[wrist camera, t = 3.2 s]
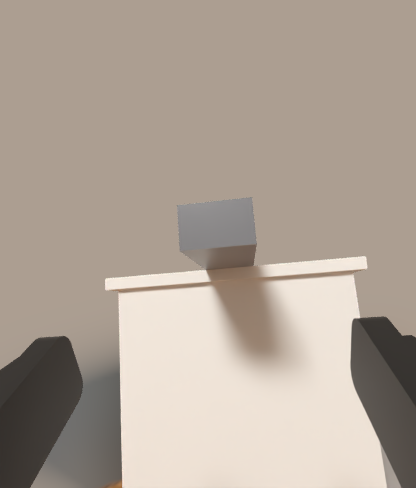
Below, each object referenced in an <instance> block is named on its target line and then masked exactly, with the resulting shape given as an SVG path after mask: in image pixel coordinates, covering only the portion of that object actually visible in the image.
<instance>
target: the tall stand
mask: <svg viewBox="0 0 416 488" xmlns="http://www.w3.org/2000/svg"><path fill="white" fill-rule="evenodd" d="M365 269H367V262H366V257H354V258H341V259H329V260H318V261H306V262H295V263H283V264H271V265H260V266H248V267H236V268H224V269H213V270H201V271H189V272H178V273H166V274H154V275H142V276H131V277H119V278H108V279H105V290H112V291H119V331H120V332H119V335H120V384H121V385H120V389H121V441H122V488H387V484H386V478H385V472H384V465H383V459H382V453H381V446H380V441H379V439H378V437H377V435H376V433H375V430H374V428H373V426H372V424H371V422H370V420H369V418H368V416H367V414H366V411H365V409H364V407H363V405H362V403H361V401H360V399H359V397H358V395H357V392H356V390H355V387H354V384H353V381H352V376H351V369H350V360H351V328H352V321H353V319H354V318H360V315H359V308H358V301H357V295H356V289H355V282H354V276H353V273H354V272H357V271H361V270H365Z"/></svg>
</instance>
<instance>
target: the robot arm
mask: <svg viewBox="0 0 416 488" xmlns="http://www.w3.org/2000/svg"><path fill="white" fill-rule="evenodd" d="M350 369H351V376H352V381H353V384H354V387H355V390H356V392H357V395H358V397H359V399H360V401H361V403H362V405H363V407H364V409H365V411H366V414H367V416H368V418H369V420H370V422H371V424H372V426H373V428H374V430H375V433H376V435H377V437H378V439H379V441H380V443H381V445H382V447H383V450H384V452H385V454H386V456H387V458H388V460H389V462H390V464H391V466H392V469H393V471H394V473H395V475H396V477H397V479H398V481H399V483H400V485H401V488H416V338H415V337H414V336H412V335H406V336H402V335H401V334H400V333H399V332H398V330H397V329H396V328H395V327H394V325H393V324H392V323H391V322H390V321H389V320H388V318H386V317H369V318H354V319H353V321H352V328H351V360H350ZM82 388H83V381H82V377H81V373H80V370H79V367H78V364H77V361H76V357H75V355H74V351H73V348H72V345H71V342H70V341H69V339H68V338H67V337H65V336H59V337H44V338H38V339H36V340H35V341H34V342H33V343H32V344H31V345H30V346H29V347H28V348H27V349H26V350H25V352H24V353H23V354H22V355H21V356H20V357H18V358H17V359H15V360H14V361H13V362H11V363H10V364H8V365H7V366H5V367H4V368H2V369H1V370H0V488H30V487H31V485H32V483H33V481H34V480H35V478H36V476H37V474H38V473H39V471H40V469H41V467H42V466H43V464H44V462H45V460H46V458H47V457H48V455H49V453H50V451H51V450H52V448H53V446H54V444H55V443H56V441H57V439H58V437H59V436H60V434H61V432H62V430H63V428H64V426H65V425H66V423H67V421H68V420H69V418H70V416H71V414H72V413H73V411H74V409H75V407H76V405H77V404H78V402H79V400H80V397H81V394H82Z"/></svg>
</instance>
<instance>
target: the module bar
mask: <svg viewBox="0 0 416 488" xmlns="http://www.w3.org/2000/svg"><path fill="white" fill-rule="evenodd" d="M177 209H178V225H179V245H180V252H182V253H183V254H185V255H186V256H187V257H189V258H190V259H191V260H193V261H194V262H196V263H197V264H198V265H200V266H201V267H203V268H204V269H205V270H213V269H224V268H236V267H248V266H253V265H254V258H255V251H256V245H257V243H256V234H255V224H254V215H253V205H252V198H251V197H250V198H242V199H232V200H223V201H214V202H205V203H196V204H187V205H178V206H177Z"/></svg>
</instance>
